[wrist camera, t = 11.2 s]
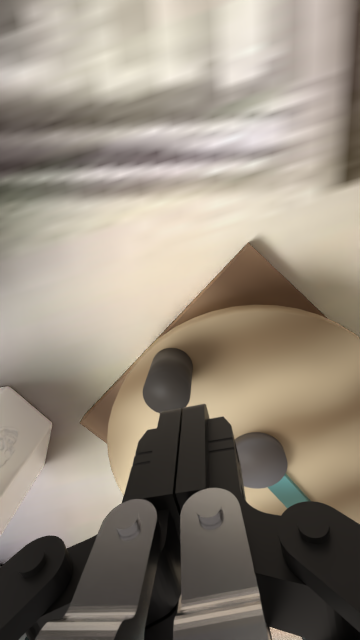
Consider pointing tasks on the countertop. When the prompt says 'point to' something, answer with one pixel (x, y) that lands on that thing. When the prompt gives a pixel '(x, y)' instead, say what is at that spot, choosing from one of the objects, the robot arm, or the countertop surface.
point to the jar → (19, 450)
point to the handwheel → (257, 401)
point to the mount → (222, 292)
